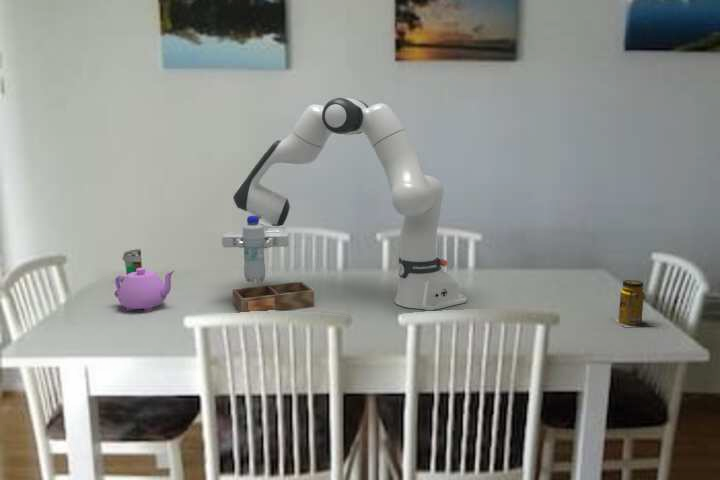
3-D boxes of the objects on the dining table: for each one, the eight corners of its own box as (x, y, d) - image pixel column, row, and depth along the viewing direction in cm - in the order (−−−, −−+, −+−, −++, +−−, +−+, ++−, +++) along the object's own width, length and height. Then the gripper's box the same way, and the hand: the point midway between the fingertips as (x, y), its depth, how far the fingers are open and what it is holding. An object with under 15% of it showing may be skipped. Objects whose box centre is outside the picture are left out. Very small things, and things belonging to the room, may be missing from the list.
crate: (302, 296, 211) (301, 281, 210) (314, 306, 201) (314, 291, 200) (233, 305, 203) (232, 289, 202) (242, 316, 192) (241, 300, 191)
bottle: (261, 284, 194) (259, 217, 190) (240, 283, 196) (237, 217, 191) (269, 278, 201) (267, 213, 197) (248, 277, 202) (246, 213, 198)
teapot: (186, 301, 207) (184, 263, 205) (167, 315, 193) (165, 275, 191) (126, 299, 210) (123, 262, 207) (103, 312, 196) (100, 273, 193)
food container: (124, 276, 237) (122, 249, 235) (142, 275, 238) (140, 248, 236) (123, 285, 225) (121, 257, 223) (142, 284, 227) (140, 256, 225)
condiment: (612, 319, 188) (615, 278, 185) (640, 318, 189) (644, 278, 186) (624, 327, 181) (628, 285, 178) (654, 326, 182) (658, 284, 179)
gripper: (224, 226, 207) (217, 234, 194) (289, 225, 208) (287, 234, 195) (225, 245, 209) (218, 255, 195) (289, 244, 210) (287, 254, 196)
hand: (253, 244), depth 195 cm, fingers closed on bottle, 6 cm apart
